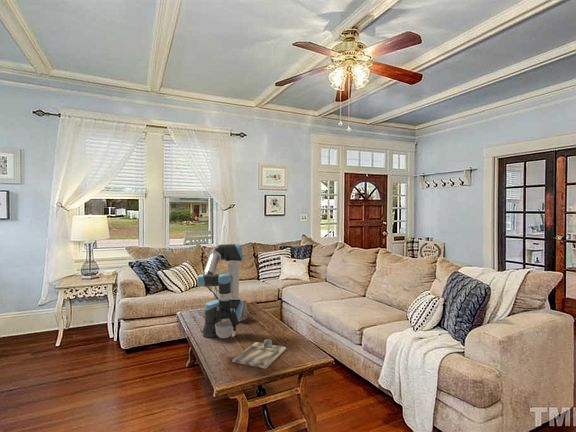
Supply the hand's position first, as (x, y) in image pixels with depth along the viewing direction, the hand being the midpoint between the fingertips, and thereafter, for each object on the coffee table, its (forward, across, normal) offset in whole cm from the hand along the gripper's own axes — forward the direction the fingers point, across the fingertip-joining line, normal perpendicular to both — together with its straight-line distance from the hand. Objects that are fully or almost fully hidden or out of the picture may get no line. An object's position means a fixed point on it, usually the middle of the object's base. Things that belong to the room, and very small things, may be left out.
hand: (225, 334), depth 204 cm
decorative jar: (+13, -28, +56) cm, 64 cm away
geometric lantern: (+14, -47, +63) cm, 80 cm away
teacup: (+1, +1, 0) cm, 1 cm away
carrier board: (+12, +21, +5) cm, 25 cm away
